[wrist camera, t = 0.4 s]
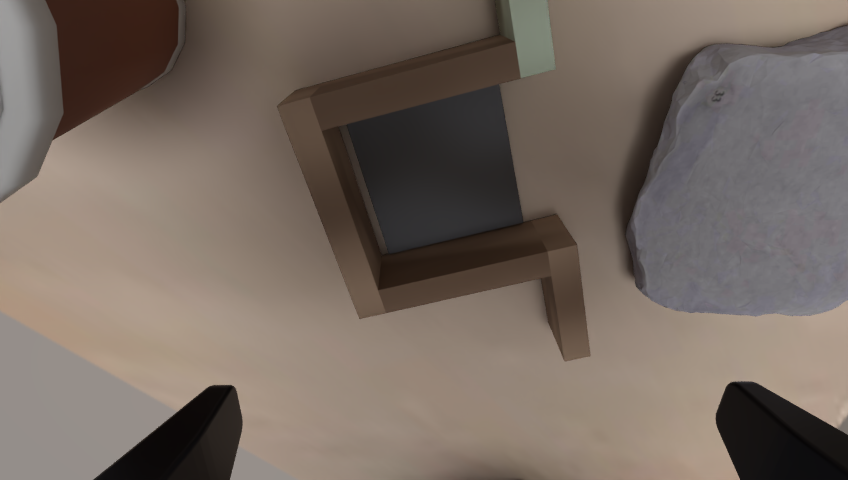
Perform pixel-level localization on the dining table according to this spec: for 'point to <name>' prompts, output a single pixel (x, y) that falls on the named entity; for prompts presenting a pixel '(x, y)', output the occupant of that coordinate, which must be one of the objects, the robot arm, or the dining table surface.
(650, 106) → the dining table surface
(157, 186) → the dining table surface
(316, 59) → the dining table surface
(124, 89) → the coffee cup
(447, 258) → the channel
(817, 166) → the stone block
